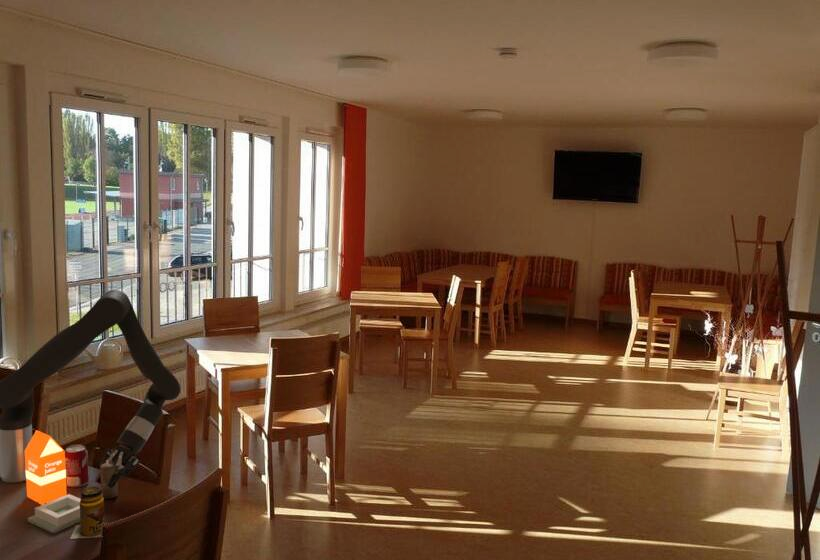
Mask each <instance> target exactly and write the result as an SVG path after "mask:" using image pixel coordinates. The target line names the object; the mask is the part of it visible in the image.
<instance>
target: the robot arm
mask: <svg viewBox="0 0 820 560" xmlns="http://www.w3.org/2000/svg"><path fill="white" fill-rule="evenodd" d="M139 321H140V320H139V319H138V316H137V315H136V313H135V310H134V306H133V304H132V301H131V300H130V298H129V296H128V295H127V294H126V293H125V292H123V291H122V290H119V289H112V290H109V291H107V292H105V293H103V295H101V297H100V298H99V299H98V300H97V301H96V302H95V303H94V304H93V306H92V307H91V308H90V309H89V310H88V311H87V312H86V313H85V314H84V315H83V316H82V317H81V318H80V319H79V320H78V321H76V322H75V323H73V324H71V325H70V326H68V327H65V328H64V329H62V330H61V331H59V332H58V333H56V334H55V335H54V336H53V337H51V338H50V339H49V340H48V341H47V342H46V343H44V345H42V346H41V347H39V349H37V351H35V353H33V354H32V355H31V356H30V358H29V359H28V360H27V361H25V363H24V364H22V365H21V366H20V367H19V368H18V369H16V370H15V371H13V372H12V373H11V374H8V376H6V377H4V378H2V379H1V380H0V409H2V412H1V414H0V477H1V481H2V482H4V483H19V482H24V481H25V482H26V467H25V452H24V451H25V449H26V447H27V446H28V444H29V442H30V440H31V439H32V437H33V423H32V422H33V420H32V419H33V416H34V411H35V410H34V409H35V403H34V402H35V397H34V396H35V395H34V394H35V392H34V388H35V387H37V385H39V384H40V383H42V382H43V381H45V380H46V379H48V378H50V377H52V376H53V375H55V374H56V373H58V372H60V371H61V370H63V369H64V368H65V367H67V366H68V365H70V364H71V363H72V362H73V361H74V360H75V359H77V358H78V356H80V354H83V352H84V351H85V350H86V349H87V348H88V347H89V346H90V344H91V343H92V342H93V341H95V339H97V338H98V337H99V336H100V335H102V334H103V333H105V332H106V331H108V330H109V329H110V328H112V327H114V326H117V327H118V328H119V330H120V331H121V333H122V335H123V338H124V340H125V342H126V346H127V348H128V352H129V354H130V356H131V359H132V360H133V362H134V364H135V365H136V366H137V368H138V370H139V371H140V373H141V375H142V376H143V377H144V378H145V379H148V380H149V381H150V382H151V385H150V387H149V388H148V390H147V392H146V394H145V397H144V400H143V403H142V405H141V406H140V407H139V409H138V410H137V411H136V413H135V414H134V416H133V418H132V419H131V420H130V421H129V423H128V424H127V426H126V427H125V428H124V429H123V432H122V433H120V436H119V438H118V439H117V441H116V443H117V445H116V446H115V447H114V448H113V449H110V448H108V447H106V448H105V450H104V452H103V455H102V457H101V459H100V462H99V464H98V465H99V467H100V466H101V465H102V464H105V463H116V470H115V472H114V474H113V475H112V476H111V478H110V480H109V481H108V483H107V484H106V486H108V487H109V488H113V487H114V486H115V484H116V483H117V484H118V481H119V480H120V478H122V477H124V478H126V477H128V476H129V475H130V473H131V472H133V470H134V469H135V468H136V467H138V465H139V464H140V460H139V459H137V458H136V455H137V454H139V453H140V452H141V451H142V449H143V447H144V446H145V444H146V443H147V441H148V440H149V437H150V436H151V435H152V433H153V430H154V429H155V427H156V426H157V424H158V423H159V421H160V419H161V417H162V415H163V411H164V410H163V408H162V407H164V404H165V402H167V401H173V400H175V399H177V398H178V397H179V396H180V394H181V385H180V383H179V380H178V379H177V378H176V376H175V375H174V374H173V373H172V372H171V371H170V370H169V368H167V367H166V366H165V365H164V363H163V362H162V360H161V358H160V356H159V355H158V353H157V351H156V350H155V348H154V347H153V345H152V344H151V342H150V340H149V339H148V337H147V334H146V333H145V331H144V329H143V328H142V326H141V322H139ZM95 483H97V484H99V485H101V471H100V472H99V473H98V475H97V476H96V479H95Z"/></svg>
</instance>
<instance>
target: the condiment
mask: <svg viewBox="0 0 820 560" xmlns="http://www.w3.org/2000/svg"><path fill="white" fill-rule="evenodd" d="M80 499H81V501H80V522H79V523H80V524H77V525H75V526H74V528H73V531H72V534H71V535H70V538H69V539H70V540H73V539H74V540H75V539H89V538H90V539H91V538H100V537H101V527H102V526H104V525H105V500H104V498H103V497H102V490H101V487H98V486H89V487H86V488H84V489H82V491H81V492H80ZM107 523H108V522H106V524H107ZM101 538H102V537H101Z"/></svg>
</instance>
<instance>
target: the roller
mask: <svg viewBox="0 0 820 560" xmlns="http://www.w3.org/2000/svg"><path fill="white" fill-rule="evenodd" d="M99 467H100V468H99V469H100V472H101V484H100V488H101V490H102V497H103V499H105V500H109V499H113V498H115V497H117V496H118V492H119V491H118V482H117V483H116V484H115V486H114V487H113V488H109V487H108V486H106V484H107V483H108V481H109V480H110V478H111V476H112V475H113V474H114V472H115V470H116V463H114V462H112V463H105V462H104V464H102V465H101V466H99Z"/></svg>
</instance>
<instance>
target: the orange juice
mask: <svg viewBox="0 0 820 560" xmlns="http://www.w3.org/2000/svg"><path fill="white" fill-rule="evenodd" d="M24 452H25V467H26V480H25V482H26V496H27V498H29V499H31V500H32V501H34V502H36V503H37V502H38V503H37V504H40V506H41V505H43V504H45V503H48V502H51V501H53V500H56V499H58V498H61V497H63V496H66V495H68V494H67V486H66V469H65V452H66V449H65V450H64V449H63V447H61V446H60V444H58V443H57V442H56V440H55V439H54V438H52V436H51V435H49V434H46V433H44V432H42V431H41V430H40V431H39V430H37V429H36V430H35V432H34V434H32V439H31V440H30V442H29V444H28V446H27V447H26V449H25V451H24Z"/></svg>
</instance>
